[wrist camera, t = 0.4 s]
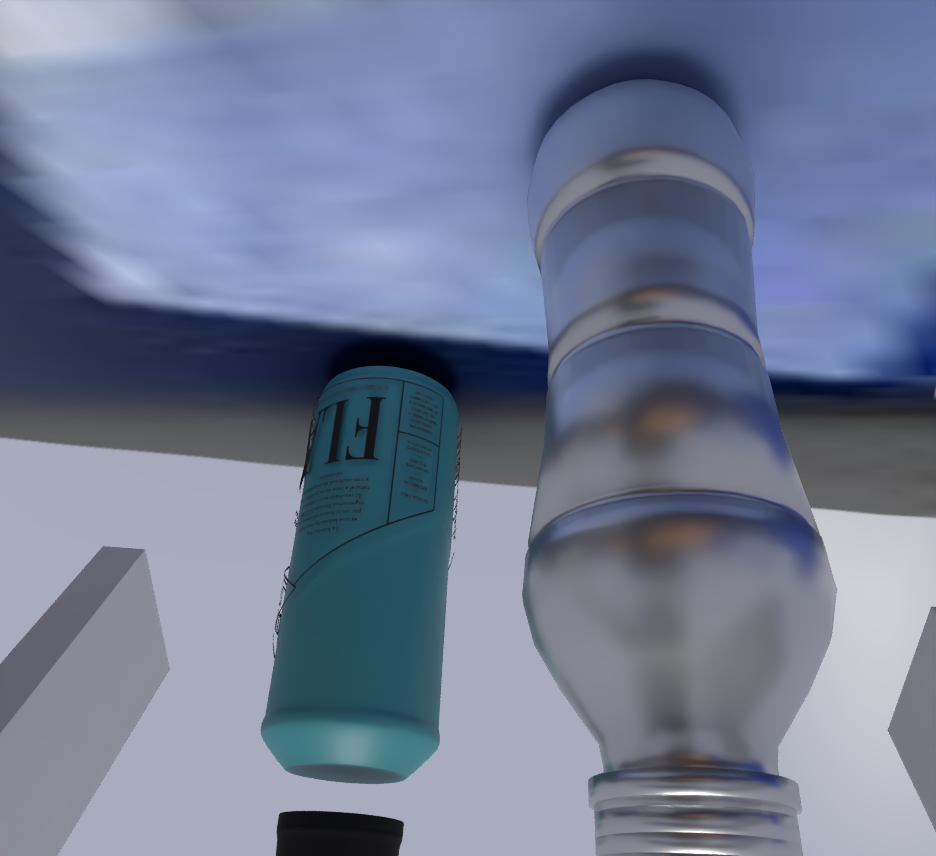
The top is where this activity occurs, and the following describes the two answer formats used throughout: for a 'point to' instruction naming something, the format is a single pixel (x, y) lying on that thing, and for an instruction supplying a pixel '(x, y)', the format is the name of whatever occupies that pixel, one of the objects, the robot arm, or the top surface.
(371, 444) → the beverage bottle
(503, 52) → the top surface
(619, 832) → the silver metal bottle
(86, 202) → the top surface
